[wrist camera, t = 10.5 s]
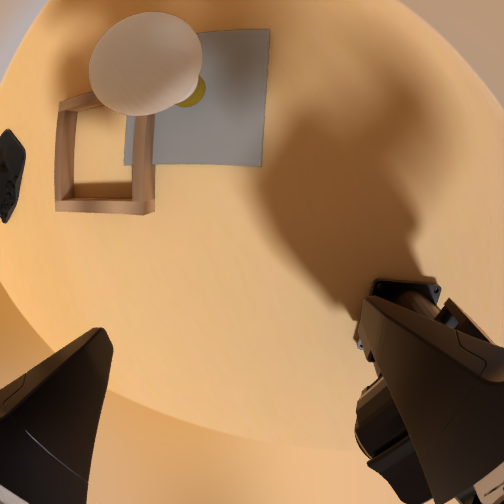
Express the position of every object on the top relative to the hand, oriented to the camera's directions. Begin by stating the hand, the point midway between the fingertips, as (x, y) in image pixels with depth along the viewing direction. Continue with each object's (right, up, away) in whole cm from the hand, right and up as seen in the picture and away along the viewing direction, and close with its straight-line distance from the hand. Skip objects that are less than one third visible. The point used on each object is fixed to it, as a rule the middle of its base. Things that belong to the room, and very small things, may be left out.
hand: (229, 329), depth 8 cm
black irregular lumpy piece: (-31, +12, +15) cm, 37 cm away
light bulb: (-4, +14, +9) cm, 17 cm away
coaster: (-4, +14, +9) cm, 17 cm away
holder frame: (-12, +11, +11) cm, 20 cm away
